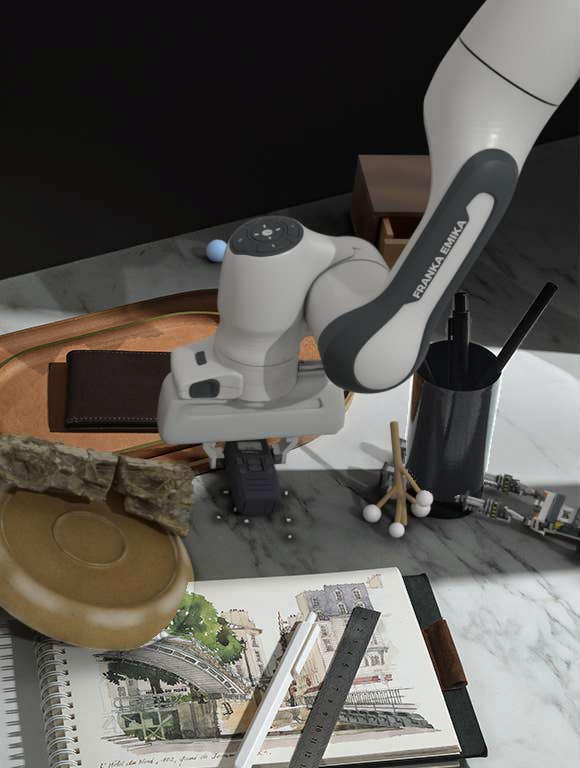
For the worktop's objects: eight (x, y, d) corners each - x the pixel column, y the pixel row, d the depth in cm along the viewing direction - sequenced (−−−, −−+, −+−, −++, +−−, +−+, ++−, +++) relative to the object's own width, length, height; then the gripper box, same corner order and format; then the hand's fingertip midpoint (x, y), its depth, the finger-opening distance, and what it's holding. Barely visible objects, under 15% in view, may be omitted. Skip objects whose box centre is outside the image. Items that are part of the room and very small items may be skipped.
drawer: (462, 316, 165) (473, 264, 160) (382, 315, 165) (391, 264, 160) (435, 236, 180) (444, 187, 175) (361, 236, 180) (369, 187, 175)
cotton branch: (435, 421, 132) (445, 533, 134) (414, 412, 138) (424, 519, 140) (366, 432, 131) (377, 544, 133) (348, 422, 137) (359, 529, 140)
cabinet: (449, 273, 174) (461, 212, 168) (364, 272, 174) (374, 211, 168) (429, 214, 186) (440, 155, 180) (349, 214, 186) (358, 154, 180)
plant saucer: (-11, 622, 113) (-20, 646, 115) (233, 636, 122) (220, 658, 123) (-42, 441, 130) (-49, 465, 132) (173, 465, 139) (163, 487, 141)
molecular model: (344, 298, 172) (345, 285, 169) (203, 263, 176) (202, 250, 174) (350, 280, 173) (351, 267, 170) (210, 246, 178) (209, 233, 175)
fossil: (178, 450, 136) (215, 476, 127) (158, 515, 138) (194, 545, 129) (-14, 407, 128) (12, 432, 119) (-33, 477, 129) (-9, 507, 120)
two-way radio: (237, 498, 134) (215, 398, 145) (230, 525, 138) (209, 425, 148) (288, 497, 135) (262, 398, 145) (279, 524, 139) (255, 425, 149)
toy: (401, 423, 142) (683, 499, 130) (396, 470, 146) (669, 547, 135) (376, 466, 137) (668, 549, 125) (372, 513, 141) (654, 597, 129)
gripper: (346, 340, 136) (331, 438, 145) (156, 351, 134) (153, 450, 143) (360, 376, 131) (344, 475, 140) (163, 387, 130) (160, 487, 139)
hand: (246, 462), depth 142 cm, fingers closed on two-way radio, 5 cm apart
